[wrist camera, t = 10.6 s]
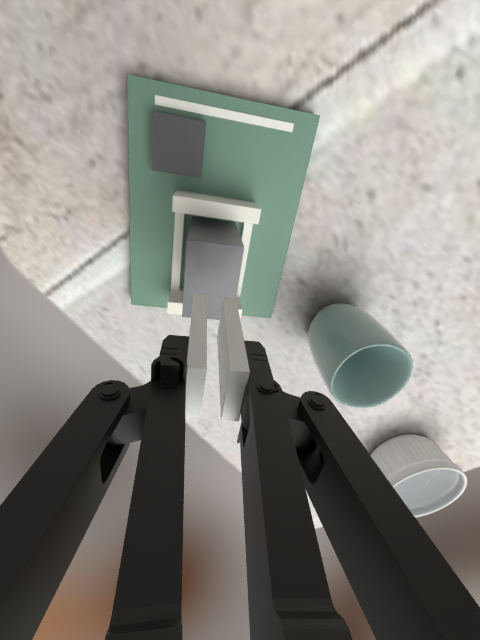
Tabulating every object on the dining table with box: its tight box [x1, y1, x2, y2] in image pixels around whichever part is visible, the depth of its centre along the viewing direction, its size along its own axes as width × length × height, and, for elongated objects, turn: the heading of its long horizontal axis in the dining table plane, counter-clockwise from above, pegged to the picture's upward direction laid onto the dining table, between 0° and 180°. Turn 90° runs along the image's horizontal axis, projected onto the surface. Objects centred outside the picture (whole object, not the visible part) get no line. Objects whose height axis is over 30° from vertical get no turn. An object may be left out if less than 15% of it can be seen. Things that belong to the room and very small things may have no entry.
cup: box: [308, 303, 413, 408], centre depth 32 cm, size 8×8×10 cm
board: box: [127, 74, 320, 320], centre depth 27 cm, size 19×15×5 cm
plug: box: [182, 217, 244, 320], centre depth 26 cm, size 7×4×8 cm, turn 172°
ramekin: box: [370, 434, 467, 517], centre depth 48 cm, size 13×13×7 cm
